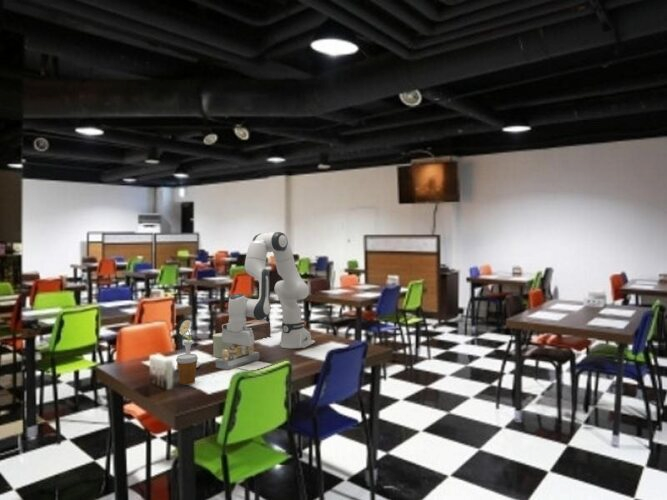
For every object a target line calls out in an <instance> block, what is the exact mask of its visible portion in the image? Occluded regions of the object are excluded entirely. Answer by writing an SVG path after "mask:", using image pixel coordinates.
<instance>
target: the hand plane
mask: <svg viewBox="0 0 667 500" xmlns="http://www.w3.org/2000/svg"><path fill="white" fill-rule="evenodd" d="M254 345H255V344H254ZM254 345H252V346H247V347H246V348H247V354H245V355H242V356H239V357H236V355H234V354H230V350H231V348H230V349H223V350H222V357H218V358H216V359H215V368H218V369H221V370H226V371H231V370H233V369H236V368H239V367H242V366H245V365H248V364H251V363H254V362H257V361H260V352H259V351H255V349H254V348H255V346H254Z"/></svg>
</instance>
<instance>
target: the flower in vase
mask: <svg viewBox="0 0 667 500" xmlns="http://www.w3.org/2000/svg"><path fill="white" fill-rule="evenodd" d="M190 327H191V321H190V320H189V319H186V320H184V321H183V322H182V323H181V325H180V327H179V329H178V330H179V334H180V335H181V336H184V337H185V338H186V340H182V343H183V345H184V348H185V354H192V353H191V347H192V344H193V342H194V340H193V339H192V335H191V334H190V333H191V332H190V331H189V330H190ZM187 333H188V334H189V335H188V334H187ZM200 366H201V362H200V361H199V360H198V359H197V365H196V369H197V368H199V367H200ZM176 368H177V369H178V365H177V364H176Z"/></svg>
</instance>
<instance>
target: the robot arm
mask: <svg viewBox="0 0 667 500" xmlns="http://www.w3.org/2000/svg"><path fill="white" fill-rule="evenodd" d="M288 241H289V240H288V238H287V235H286V234H285V233H284V232H280V231H272V232H270V231H269V232H264V233H258V234H256V235H255V236H253V238H252V241H251V242H249V246H248V248H247V251H246V256H245V260H244V270H245V272H246V273H247V275H249V276H250V277H253V278H254V279H256V280H257V281H258V284H259V285H258V289H259V290H258V292H259V293H258V299H257V298H256V299H255V298H249V297H246V296H245V295H244V294H243V293H236V294H233V295H231V296H229V298H228V309H227V311H228V312H227V313H228V322H227V323H224V324H221V329H222V330H221V333H222V340H223V342H226V343H230V350H231V349H235V348H236V346H235V345H237V346H242V347H243V348H242V350H241V354H244V353H245V349H246V347H247V346H252V345H255V341H254V335H253V331H252V329H251V328H247V327H246V321H247V318H254V319H257V320H259V319H260V320H265V319H266V318H267V317H268V316H269V315H270V313H271V301H270V290H271V289H270V288H271V287H270V283H271V282H270V272H269V270H267V266H266V265H267V255H268V253H272V254H273V259H274V263H275V268H276V271H277V275H279V277H281V280H277V282H276V283H275V285H274V293H275V294H276V296H277V297H278V300H279V302H280V306H281V310H282V312H281V313H282V314H281V315H282V323H281V328H282V330H281V337H280V342H279V345H280V348H283V349H305V348H307V347H310V346H311V345H313V344H315V343H316V341H315V340H314V339H312V334H311V332H310V331H309V330H307V329H306V328H305V327H304V326H306V324H307V322H306V321H302V308H301V307H300V305H299V304H298V302H297V301H300V300H304V299H306V298H307V297H308V296H309V294H310V287H309V285H308V284H307V283H306V282H305V281H304V280H303V279H302V277H301V275H300V273H299V271H298V268H297V265H296V262H295V257H294V254H293V250H292V247H291V245H290V243H289V242H288Z"/></svg>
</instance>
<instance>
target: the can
mask: <svg viewBox="0 0 667 500" xmlns="http://www.w3.org/2000/svg"><path fill="white" fill-rule="evenodd" d="M212 343H213V344H212V345H213V346H212V347H213V351H212V352H213V353H212V355H213V357H214V358H222V350H223V349H230V350H231V346H230V343H226V342H223V340H222V332H219V333H214V334H212Z"/></svg>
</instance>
